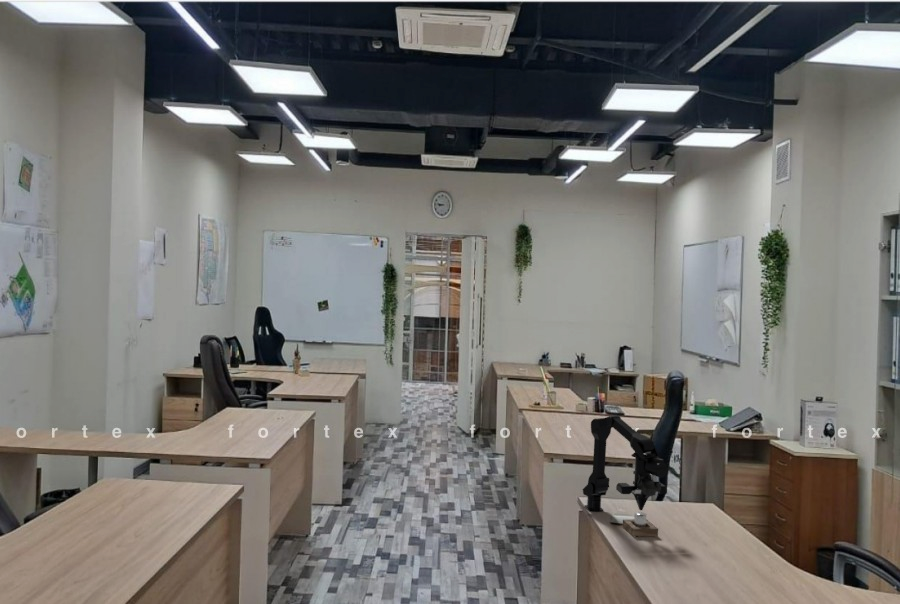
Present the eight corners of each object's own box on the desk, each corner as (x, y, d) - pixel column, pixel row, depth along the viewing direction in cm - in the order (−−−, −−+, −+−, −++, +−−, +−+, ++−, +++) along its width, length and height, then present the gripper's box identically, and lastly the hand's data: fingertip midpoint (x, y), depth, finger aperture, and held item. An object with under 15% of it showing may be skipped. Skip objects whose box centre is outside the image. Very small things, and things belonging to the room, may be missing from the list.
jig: (622, 527, 252) (622, 519, 251) (646, 526, 253) (646, 519, 253) (633, 536, 242) (633, 529, 242) (657, 536, 243) (658, 528, 243)
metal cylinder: (632, 529, 249) (632, 512, 249) (642, 529, 250) (643, 512, 250) (636, 534, 245) (637, 516, 245) (647, 533, 245) (648, 515, 245)
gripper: (628, 476, 238) (626, 517, 238) (675, 476, 240) (673, 517, 240) (616, 468, 249) (614, 507, 249) (661, 468, 251) (659, 507, 251)
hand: (640, 510), depth 247 cm, fingers closed
